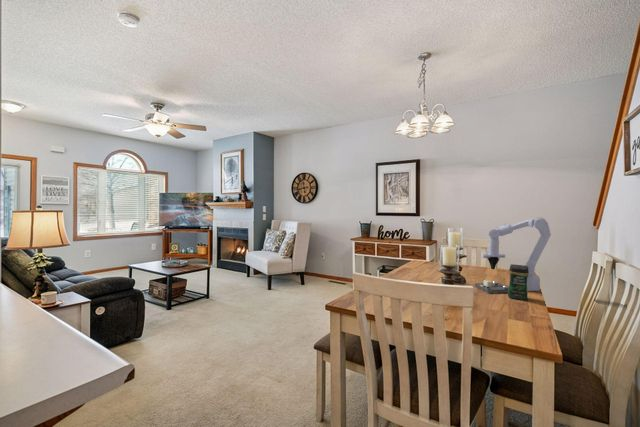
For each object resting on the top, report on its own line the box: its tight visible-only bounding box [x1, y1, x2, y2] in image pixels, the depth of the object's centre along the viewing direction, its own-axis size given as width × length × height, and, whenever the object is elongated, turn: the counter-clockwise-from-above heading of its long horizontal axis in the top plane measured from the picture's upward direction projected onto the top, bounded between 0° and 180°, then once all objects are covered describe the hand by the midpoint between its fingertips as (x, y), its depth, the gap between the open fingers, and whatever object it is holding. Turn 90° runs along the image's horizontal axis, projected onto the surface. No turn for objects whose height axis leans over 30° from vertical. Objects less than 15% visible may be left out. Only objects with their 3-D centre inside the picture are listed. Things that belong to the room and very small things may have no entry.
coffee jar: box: [507, 264, 529, 300], centre depth 187 cm, size 10×8×19 cm
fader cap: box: [483, 279, 492, 287], centre depth 203 cm, size 2×4×3 cm, turn 5°
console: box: [474, 280, 509, 294], centre depth 203 cm, size 16×14×3 cm
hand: (492, 268), depth 214 cm, fingers closed
